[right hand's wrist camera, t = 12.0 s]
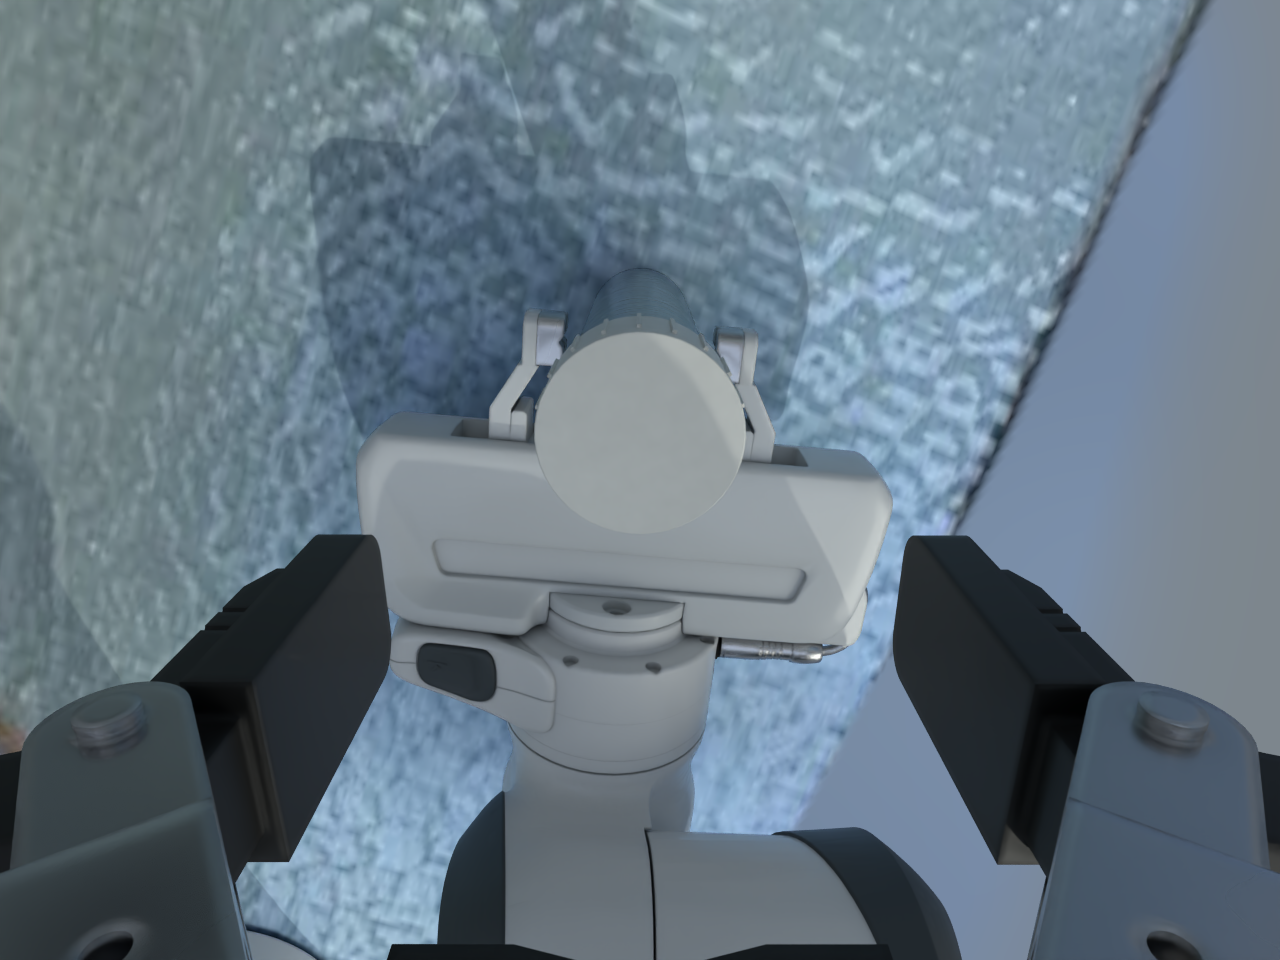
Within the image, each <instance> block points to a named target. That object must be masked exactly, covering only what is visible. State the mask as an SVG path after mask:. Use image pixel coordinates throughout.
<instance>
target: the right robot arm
mask: <svg viewBox="0 0 1280 960" xmlns="http://www.w3.org/2000/svg"><path fill="white" fill-rule="evenodd" d="M390 654H391V629H390V622H389V614H388V606H387V598H386V591H385V583H384V575H383V567H382V560H381V553H380V548H379V544H378V542H377V540H376V538H375V537H374V536H373V535H316V536H315V537H314V538H313V539H312V540H311V541H310V542H309V543H308V544H307V545H306V546H305V547H304V548H303V549H302V550H301V551H300V553H299V554H298V555H297V556H296V557H295V558H294V559H293V560H292V561H291V562H290V563H289V564H288V565H287V566H286V568H285V569H275V570H273V571H272V572H270V573H268V574H266V575H264V576H262V577H261V578H259V579H257V580H255V581H253V582H251V583H250V584H248V585H246V586H244V587H243V588H242V589H241V590H240V591H239V592H238V593H237V594H236V595H235V596H234V597H233V598H232V599H231V600H230V601H229V602H228V603H227V604H226V605H225V606H224V607H223V612H218V613H217V614H216V615H215V616H214V617H213V618H212V619H211V620H210V621H209V622H208V623H207V624H206V625H205V630H200V631H199V632H198V633H197V634H196V635H195V636H194V637H193V638H192V639H191V640H190V641H189V642H188V643H187V644H186V645H185V646H184V648H183V649H182V650H181V651H180V652H179V653H178V654H177V655H176V656H175V657H174V658H173V659H172V660H171V661H170V662H169V663H168V664H167V665H166V666H165V667H164V668H163V669H162V670H161V671H160V672H159V673H158V674H157V675H156V676H155V677H154V678H153V679H152V680H151V681H150V682H149V681H147V682H136V683H129V684H124V685H119V686H115V687H111V688H107V689H104V690H101V691H98V692H95V693H92V694H90V695H87V696H85V697H82V698H80V699H78V700H76V701H74V702H72V703H69V704H67V705H66V706H64V707H62V708H61V709H59V710H57V711H55V712H54V713H53V714H51V715H50V716H48V717H47V718H45V719H44V720H43V721H42V722H41V723H40V724H38V725H37V726H36V727H35V728H34V729H33V731H32V732H31V733H30V734H29V735H28V737H27V739H26V740H25V742H24V745H23V748H22V751H19V752H14V753H9V754H4V755H0V960H253V958H252V954H251V949H250V945H249V940H248V936H247V931H246V927H245V922H244V918H243V913H242V909H241V904H240V900H239V896H238V892H237V888H236V884H235V882H236V881H237V879H238V877H239V876H240V874H241V872H242V870H243V869H244V867H245V865H246V864H247V862H289V861H290V859H291V857H292V855H293V853H294V851H295V849H296V847H297V845H298V843H299V842H300V840H301V838H302V836H303V834H304V832H305V830H306V828H307V826H308V824H309V822H310V820H311V819H312V817H313V815H314V813H315V811H316V809H317V807H318V805H319V803H320V801H321V799H322V797H323V795H324V794H325V792H326V790H327V788H328V786H329V784H330V782H331V780H332V778H333V776H334V774H335V772H336V770H337V769H338V767H339V765H340V763H341V761H342V759H343V757H344V755H345V753H346V751H347V749H348V747H349V745H350V744H351V742H352V740H353V738H354V736H355V734H356V732H357V730H358V728H359V726H360V724H361V722H362V720H363V719H364V717H365V715H366V713H367V711H368V709H369V707H370V705H371V703H372V701H373V699H374V697H375V695H376V694H377V692H378V690H379V688H380V686H381V684H382V682H383V680H384V678H385V676H386V673H387V670H388V666H389V661H390ZM893 655H894V662H895V667H896V671H897V674H898V677H899V679H900V681H901V683H902V685H903V687H904V689H905V690H906V692H907V694H908V696H909V698H910V700H911V702H912V704H913V706H914V707H915V709H916V711H917V713H918V715H919V717H920V719H921V721H922V723H923V725H924V726H925V728H926V730H927V732H928V734H929V736H930V738H931V740H932V742H933V744H934V745H935V747H936V749H937V751H938V753H939V755H940V757H941V759H942V761H943V762H944V764H945V766H946V768H947V770H948V772H949V774H950V776H951V778H952V780H953V781H954V783H955V785H956V787H957V789H958V791H959V793H960V795H961V797H962V799H963V800H964V802H965V804H966V806H967V808H968V810H969V812H970V814H971V816H972V817H973V819H974V821H975V823H976V825H977V827H978V829H979V831H980V833H981V835H982V836H983V838H984V840H985V842H986V844H987V846H988V848H989V850H990V852H991V854H992V855H993V857H994V859H995V861H996V863H997V864H998V865H1040V867H1041V868H1042V870H1043V872H1044V873H1045V875H1046V879H1045V884H1044V888H1043V892H1042V896H1041V900H1040V904H1039V909H1038V913H1037V918H1036V922H1035V927H1034V931H1033V936H1032V940H1031V945H1030V949H1029V953H1028V958H1027V960H1280V756H1276V755H1271V754H1266V753H1262V752H1258V748H1257V745H1256V742H1255V740H1254V739H1253V737H1252V735H1251V734H1250V733H1249V732H1248V731H1247V730H1246V728H1245V727H1244V726H1243V725H1241V724H1240V723H1239V722H1238V721H1237V720H1236V719H1235V718H1233V717H1232V716H1230V715H1229V714H1227V713H1226V712H1225V711H1223V710H1221V709H1219V708H1218V707H1216V706H1214V705H1213V704H1211V703H1208V702H1206V701H1204V700H1202V699H1200V698H1198V697H1195V696H1193V695H1190V694H1188V693H1185V692H1182V691H1179V690H1176V689H1173V688H1169V687H1165V686H1161V685H1156V684H1150V683H1144V682H1135V681H1134V680H1133V679H1132V678H1131V677H1130V676H1129V675H1128V674H1127V673H1126V672H1125V671H1124V670H1123V669H1122V668H1121V667H1120V666H1119V665H1118V664H1117V663H1116V662H1115V661H1114V660H1113V659H1112V658H1111V657H1110V656H1109V655H1108V654H1107V653H1106V652H1105V651H1104V650H1103V649H1102V648H1101V647H1100V646H1099V645H1098V644H1097V643H1096V642H1095V641H1094V640H1093V639H1092V638H1091V637H1090V636H1089V635H1088V634H1087V633H1086V632H1081V627H1080V626H1079V625H1078V624H1077V623H1076V622H1075V621H1074V620H1073V619H1072V618H1071V617H1070V616H1069V615H1068V614H1063V609H1062V608H1061V607H1060V606H1059V605H1058V604H1057V603H1056V602H1055V601H1054V600H1053V599H1052V598H1051V597H1050V596H1049V595H1048V594H1047V593H1046V592H1045V591H1044V590H1043V589H1042V588H1041V587H1039V586H1037V585H1035V584H1033V583H1031V582H1030V581H1028V580H1026V579H1024V578H1022V577H1020V576H1019V575H1017V574H1015V573H1013V572H1011V571H1009V570H1000V569H999V567H998V566H997V565H996V564H995V563H994V562H993V561H992V560H991V559H990V558H989V557H988V556H987V555H986V554H985V553H984V552H983V550H982V549H981V548H980V547H979V546H978V545H977V544H976V543H975V542H974V541H973V540H972V539H971V538H970V537H968V536H911V537H910V538H909V540H908V541H907V544H906V546H905V550H904V556H903V563H902V571H901V578H900V586H899V593H898V601H897V609H896V616H895V624H894V632H893ZM387 960H574V959H570V958H566V957H562V956H558V955H554V954H550V953H546V952H542V951H539V950H535V949H531V948H527V947H523V946H519V945H515V944H392V946H391V949H390V952H389V955H388V958H387ZM706 960H893V958H892V955H891V952H890V949H889V946H888V944H765V945H761V946H757V947H753V948H749V949H745V950H741V951H738V952H734V953H730V954H726V955H722V956H718V957H714V958H710V959H706Z"/></svg>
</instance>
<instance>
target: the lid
mask: <svg viewBox="0 0 1280 960" xmlns="http://www.w3.org/2000/svg"><path fill="white" fill-rule="evenodd" d="M730 376H732V373H731V371H730V369H729V367H728V365H727V363H726V361H725V359H724V357H722V358H719V356H718V354H717V353H716V352H715V351H714V350H713V348H712V347H711V346H710V345H709V344H708V343H707V342H706V340H705V338H704V335H703V334H701V333H700V334H699V335H698V334H696V333H694V332H693V331H691V330H690V329H688V328H686V327H684V326H682V325H680V324H678V323H676V322H675V319H673V318H670V320H667V319H663V318H658V317H652V316H641V313H637V316H629V317H622V318H617V319H613V320H610V321H609V320H608V318H607V319H604V321H603V323H602V324H600V325H598V326H596V327H594V328H592V329H590V330H588V331H587V332H586V333H584V334H583V335H581V336H580V335H579V334H578V335H576V336H575V338H574V340H573V343H572V344H571V345H570V346H569V347H568V348H567V350H566V351H565V352H564V353H563V355H562V356H561V357H560V359H559V360H558V359H557V358H556V359H555V361H554V363H553V365H552V367H551V369H550V371H549V373H548V375H547V377H548V378H549V380H548V382H547V384H546V387H545V388H543V390H542V393H541V395H540V397H539V399H538V401H537V403H536V405H535V409H536V410H537V411H536V417H535V424H534V443H535V448H536V454H537V457H538V461H539V465H540V467H541V469H542V472H543V474H544V476H545V478H546V480H547V482H548V483H549V485H550V487H551V488H552V490H553V491H554V492H555V493H556V495H557V496H558V497H559V498H560V499H561V500H562V501H563V502H564V503H565V504H566V505H567V506H568V507H569V508H570V509H571V510H573V511H574V512H575V513H576V514H578V515H579V516H581V517H582V518H584V519H586V520H588V521H589V522H591V523H594V524H596V525H598V526H600V527H603V528H606V529H610V530H613V531H617V532H623V533H631V534H648V533H657V532H662V531H667V530H671V529H674V528H677V527H680V526H682V525H684V524H686V523H689V522H691V521H693V520H694V519H696V518H698V517H699V516H701V515H702V514H704V513H705V512H706V511H708V510H709V509H710V508H711V507H712V506H714V505H715V504H716V503H717V501H718V500H719V499H720V498H721V497H722V496H723V495H724V494H725V492H726V491H727V489H728V488H729V487H730V485H731V484H732V482H733V480H734V478H735V476H736V475H737V472H738V470H739V467H740V464H741V462H742V458H743V454H744V450H745V441H746V422H745V417H744V411H743V408H744V407H745V405H744V402H743V400H742V398H741V396H740V394H739V392H738V389H737V387H736V386H734V385H733V382H732V380H731V378H730Z"/></svg>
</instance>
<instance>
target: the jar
mask: <svg viewBox="0 0 1280 960" xmlns="http://www.w3.org/2000/svg"><path fill="white" fill-rule="evenodd" d="M637 313H641V316H652V317H658V318H663V319H667V320H670V318H673V319H675V322H676V323H678V324H680V325H682V326H684V327H686V328H688V329H690V330H691V331H693V332H694V333H696V334H698V335H699V333H698V331H697V328H696V326H695V323H694V321H693V318H692V316H691V313H690V311H689V308H688V306H687V303H686V301H685V298H684V296H683V294H682V292H681V291H680V289H679V288H678V287H677V285H676V284H675V283H674V282H673V281H672V280H670V279H669V278H668V277H666V276H665V275H663V274H661V273H659V272H657V271H654V270H650V269H641V268H638V269H630V270H626V271H623V272H621V273H619V274H617V275H615V276H614V277H612V278H611V279H609V280H608V281H607V282H606V283H605V284H604V285H603V287H602V288H601V289H600V291H599V293H598V294H597V296H596V299H595V301H594V304H593V306H592V309H591V311H590V314H589V316H588V319H587V321H586V324H585V326H584V329H583V331H582V334H581V335H583V334H584V333H586V332H587V331H588V330H590V329H592V328H594V327H596V326H598V325H600V324H602V323H603V321H604V319H607V318H608V320H609V321H610V320H613V319H617V318H622V317H629V316H637Z"/></svg>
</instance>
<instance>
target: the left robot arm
mask: <svg viewBox="0 0 1280 960" xmlns="http://www.w3.org/2000/svg"><path fill="white" fill-rule="evenodd" d="M567 328H568V312H562V311H553V310H544V309H533V308H529V309H528V310H527V311H526V312H525V316H524V322H523V338H522V359H521V360H520V362H519V363H518V364H517V366H516V368H515V369H514V371H513V372H512V374H511V375H510V377H509V378H508V380H507V381H506V383H505V384H504V386H503V387H502V389H501V390H500V392H499V394H498V395H497V397H496V398H495V400H494V401H493V403H492V404H491V406H490V407H489V419H487V418H475V417H464V416H452V415H441V414H430V413H419V412H407V411H403V412H398V413H396V414H394V415H392V416H391V417H390V418H389V419H387V420H386V421H385V422H384V423H382V424H381V425H380V426H379V427H377V428H376V429H375V430H374V431H373V433H372V434H371V435H370V436H369V437H368V438H367V439H366V441H365V442H364V443H363V445H362V446H361V448H360V450H359V453H358V455H357V460H356V486H357V499H358V510H359V518H360V526H361V532H362V535H373V536H374V537H375V538H376V540H377V542H378V544H379V548H380V553H381V560H382V567H383V575H384V583H385V591H386V598H387V606H388V608H389V609H390V610H391V611H392V612H393V613H395V614H396V615H398V616H399V619H398V621H397V623H396V626H395V629H394V632H393V635H392V639H391V654H390V661H389V662H390V666H391V669H392V671H393V672H394V674H395V675H397V676H398V677H399V678H401V679H402V680H404V681H406V682H409V683H411V684H414V685H417V686H420V687H423V688H425V689H428V690H431V691H434V692H437V693H440V694H443V695H445V696H448V697H451V698H454V699H456V700H459V701H462V702H464V703H467V704H469V705H472V706H474V707H477V708H479V709H482V710H484V711H486V712H488V713H491V714H493V715H495V716H497V717H499V718H501V719H503V720H505V721H507V725H508V728H509V732H510V735H511V739H512V744H513V749H512V753H511V756H510V758H509V760H508V763H507V766H506V769H505V772H504V777H503V784H502V791H501V792H500V793H499V794H498V795H496V796H495V797H494V798H493V799H492V800H491V801H490V802H489V803H488V804H487V805H486V806H485V807H484V809H483V810H482V811H481V812H480V814H479V815H478V816H477V817H476V819H475V820H474V821H473V822H472V824H471V825H470V826H469V827H468V829H467V830H466V831H465V833H464V834H463V835H462V837H461V838H460V839H459V841H458V843H457V845H456V847H455V850H454V852H453V854H452V857H451V860H450V863H449V866H448V870H447V874H446V878H445V882H444V887H443V892H442V899H441V905H440V914H439V924H438V941H437V944H515V945H519V946H523V947H527V948H531V949H535V950H539V951H542V952H546V953H550V954H554V955H558V956H562V957H566V958H570V959H574V960H706V959H710V958H714V957H718V956H722V955H726V954H730V953H734V952H738V951H741V950H745V949H749V948H753V947H757V946H761V945H765V944H888V946H889V949H890V952H891V955H892V958H893V960H962V958H961V954H960V950H959V946H958V942H957V939H956V936H955V932H954V929H953V926H952V924H951V921H950V919H949V916H948V914H947V912H946V910H945V908H944V906H943V905H942V903H941V902H940V900H939V899H938V898H937V896H936V895H935V894H934V892H933V891H932V890H931V889H930V887H929V886H928V885H927V884H926V883H925V882H924V881H923V879H922V878H921V877H920V876H919V875H918V874H917V873H916V872H915V871H914V870H913V869H912V868H911V867H910V866H909V865H908V864H907V863H906V862H905V861H904V860H902V859H901V858H900V857H899V856H898V855H897V854H896V853H895V852H894V851H892V850H891V849H890V848H889V847H888V846H887V845H885V844H884V843H883V842H882V841H880V840H879V839H878V838H877V837H875V836H874V835H873V834H871V833H870V832H868V831H866V830H864V829H861V828H857V827H850V828H835V829H819V830H800V831H782V832H776V833H774V834H772V835H757V834H731V833H704V832H690V826H691V820H692V814H693V808H694V795H695V788H694V780H693V776H692V771H691V761H692V759H693V756H694V755H695V753H696V751H697V749H698V748H699V745H700V743H701V741H702V738H703V734H704V731H705V725H706V720H707V713H708V706H709V699H710V692H711V686H712V679H713V672H714V662H715V659H717V657H724V658H736V659H749V660H759V659H761V660H762V659H780V660H789V662H792V663H799V664H812V663H819V662H820V661H821V660H822V656H826V655H832V654H835V653H837V652H840V651H842V650H844V649H845V648H847V647H848V646H850V645H852V644H854V643H855V642H856V640H857V639H858V637H859V635H860V633H861V630H862V625H863V621H864V616H865V612H866V607H867V602H868V591H867V584H868V582H869V579H870V577H871V574H872V572H873V569H874V567H875V564H876V561H877V559H878V556H879V553H880V550H881V547H882V544H883V541H884V538H885V534H886V531H887V527H888V524H889V520H890V517H891V513H892V507H893V500H892V495H891V492H890V490H889V488H888V486H887V484H886V483H885V481H884V480H883V478H882V476H881V475H880V474H879V472H878V471H877V470H876V468H875V467H874V466H873V465H872V464H871V463H870V462H869V461H868V460H867V459H866V458H865V457H864V456H863V455H862V454H860V453H858V452H855V451H848V450H836V449H825V448H814V447H802V446H791V445H780V444H774V440H775V434H776V433H775V431H774V428H773V426H772V423H771V421H770V418H769V416H768V414H767V411H766V409H765V406H764V404H763V401H762V399H761V397H760V394H759V392H758V389H757V387H756V385H755V383H754V381H753V377H754V370H755V363H756V356H757V350H758V333H757V332H756V331H755V330H754V329H748V328H737V327H724V326H715V329H714V335H713V343H714V345H715V349H714V351H715V352H716V353H717V354H718V356H719V358H722V357H724V359H725V361H726V363H727V365H728V367H729V369H730V371H731V373H732V376H730V378H731V380H732V382H733V383H734V384H735V386H736V387H737V389H738V392H739V394H740V396H741V398H742V400H743V402H744V405H745V407H744V408H745V411H746V413H747V419H746V418H745V422H746V441H745V450H744V454H743V458H742V462H741V464H740V467H739V470H738V472H737V475H736V476H735V478H734V480H733V482H732V484H731V485H730V487H729V488H728V489H727V491H726V492H725V494H724V495H723V496H722V497H721V498H720V499H719V500H718V501H717V503H716V504H715V505H714V506H712V507H711V508H710V509H709V510H708V511H706V512H705V513H704V514H702V515H701V516H699V517H698V518H696V519H694V520H693V521H691V522H689V523H686V524H684V525H682V526H680V527H677V528H674V529H671V530H667V531H662V532H657V533H648V534H631V533H623V532H617V531H613V530H610V529H606V528H603V527H600V526H598V525H596V524H594V523H591V522H589V521H588V520H586V519H584V518H582V517H581V516H579V515H578V514H576V513H575V512H574V511H573V510H571V509H570V508H569V507H568V506H567V505H566V504H565V503H564V502H563V501H562V500H561V499H560V498H559V497H558V496H557V495H556V493H555V492H554V491H553V490H552V488H551V487H550V485H549V483H548V482H547V480H546V478H545V476H544V474H543V472H542V469H541V467H540V465H539V461H538V457H537V454H536V448H535V443H534V424H535V423H533V413H534V400H533V398H532V397H525V396H522V397H521V398H519V396H520V394H521V393H522V391H523V390H524V388H525V387H526V385H527V384H528V382H529V381H530V379H531V378H532V376H533V375H534V373H535V372H536V370H537V369H538V367H539V366H540V365H544V366H552V365H553V363H554V361H555V359H556V358H557V359H558V360H559V359H560V357H561V356H562V355H563V353H564V352H565V351H566V348H567V339H566V337H565V336H564V334H565V332H566V330H567ZM744 417H745V416H744ZM822 644H829V645H827V646H823V645H822ZM246 931H247V930H246ZM247 936H248V940H249V945H250V949H251V954H252V958H253V960H317V959H315V958H314V957H312V956H311V955H309V954H308V953H306V952H305V951H303V950H301V949H299V948H297V947H295V946H293V945H291V944H289V943H287V942H284V941H282V940H280V939H277V938H274V937H271V936H268V935H264V934H261V933H257V932H252V931H247Z"/></svg>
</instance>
